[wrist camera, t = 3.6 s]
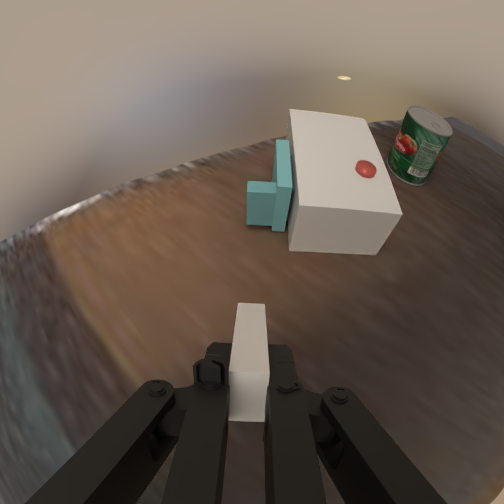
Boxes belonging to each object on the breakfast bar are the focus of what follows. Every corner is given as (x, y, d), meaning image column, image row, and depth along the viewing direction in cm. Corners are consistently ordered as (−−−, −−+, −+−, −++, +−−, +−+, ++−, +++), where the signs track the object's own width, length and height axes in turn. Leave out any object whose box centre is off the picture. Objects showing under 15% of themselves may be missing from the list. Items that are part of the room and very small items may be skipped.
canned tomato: (377, 156, 44) (397, 103, 35) (408, 153, 45) (429, 105, 36) (404, 189, 40) (432, 135, 31) (434, 183, 42) (461, 135, 32)
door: (282, 184, 39) (288, 140, 32) (284, 231, 35) (292, 187, 28) (249, 182, 39) (250, 138, 32) (246, 229, 35) (247, 185, 28)
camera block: (349, 152, 44) (362, 110, 37) (375, 255, 34) (404, 210, 26) (282, 146, 44) (287, 100, 37) (287, 250, 34) (298, 200, 26)
